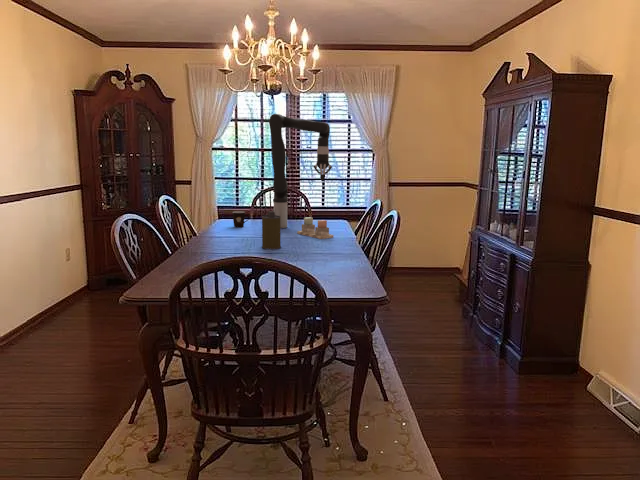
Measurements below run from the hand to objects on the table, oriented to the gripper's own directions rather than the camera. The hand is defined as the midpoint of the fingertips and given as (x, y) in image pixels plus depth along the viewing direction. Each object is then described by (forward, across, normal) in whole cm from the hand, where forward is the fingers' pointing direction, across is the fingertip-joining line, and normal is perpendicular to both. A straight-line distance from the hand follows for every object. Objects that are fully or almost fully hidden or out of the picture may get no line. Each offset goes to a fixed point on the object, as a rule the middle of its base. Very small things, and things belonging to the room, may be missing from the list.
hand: (322, 180), depth 343 cm
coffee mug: (+33, -55, +8) cm, 65 cm away
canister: (+33, -30, -62) cm, 76 cm away
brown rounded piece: (+30, -1, -29) cm, 41 cm away
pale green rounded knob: (+30, -9, -17) cm, 36 cm away
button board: (+33, -5, -23) cm, 40 cm away
